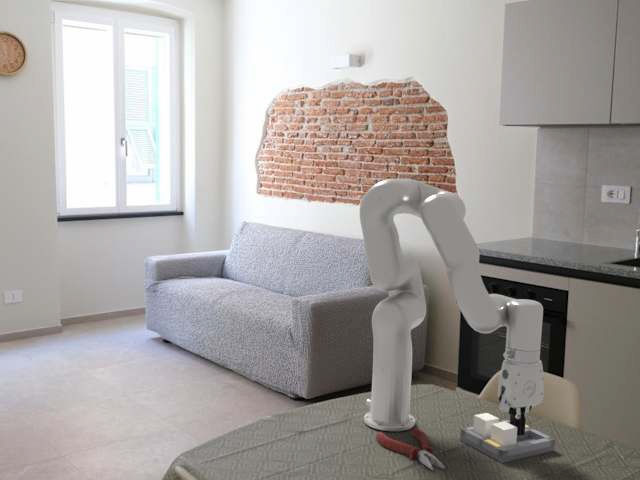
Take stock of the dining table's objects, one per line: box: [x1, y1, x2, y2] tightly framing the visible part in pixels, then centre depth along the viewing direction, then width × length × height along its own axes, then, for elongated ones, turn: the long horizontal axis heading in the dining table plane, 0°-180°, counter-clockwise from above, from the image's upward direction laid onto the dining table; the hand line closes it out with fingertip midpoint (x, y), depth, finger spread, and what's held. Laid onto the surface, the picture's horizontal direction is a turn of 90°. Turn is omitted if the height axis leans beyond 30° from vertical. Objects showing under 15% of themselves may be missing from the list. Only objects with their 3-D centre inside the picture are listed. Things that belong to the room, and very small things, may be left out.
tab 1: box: [472, 412, 500, 438], centre depth 172 cm, size 4×4×5 cm
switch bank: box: [459, 418, 556, 463], centre depth 172 cm, size 14×16×3 cm
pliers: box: [375, 427, 446, 471], centre depth 166 cm, size 12×20×3 cm, turn 21°
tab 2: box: [490, 421, 517, 447], centre depth 167 cm, size 4×4×5 cm
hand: (516, 433), depth 169 cm, fingers closed
